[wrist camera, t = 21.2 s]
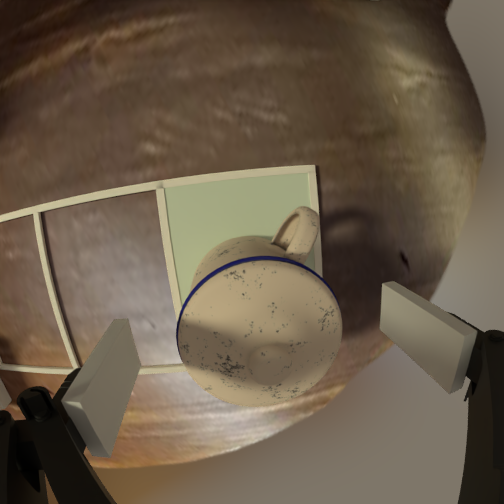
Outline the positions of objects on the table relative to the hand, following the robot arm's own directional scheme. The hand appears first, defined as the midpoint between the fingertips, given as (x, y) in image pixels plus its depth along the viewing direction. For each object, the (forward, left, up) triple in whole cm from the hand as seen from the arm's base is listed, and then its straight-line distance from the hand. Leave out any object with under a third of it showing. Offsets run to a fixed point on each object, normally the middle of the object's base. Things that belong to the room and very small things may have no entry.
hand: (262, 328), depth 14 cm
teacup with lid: (+1, 0, -10) cm, 10 cm away
